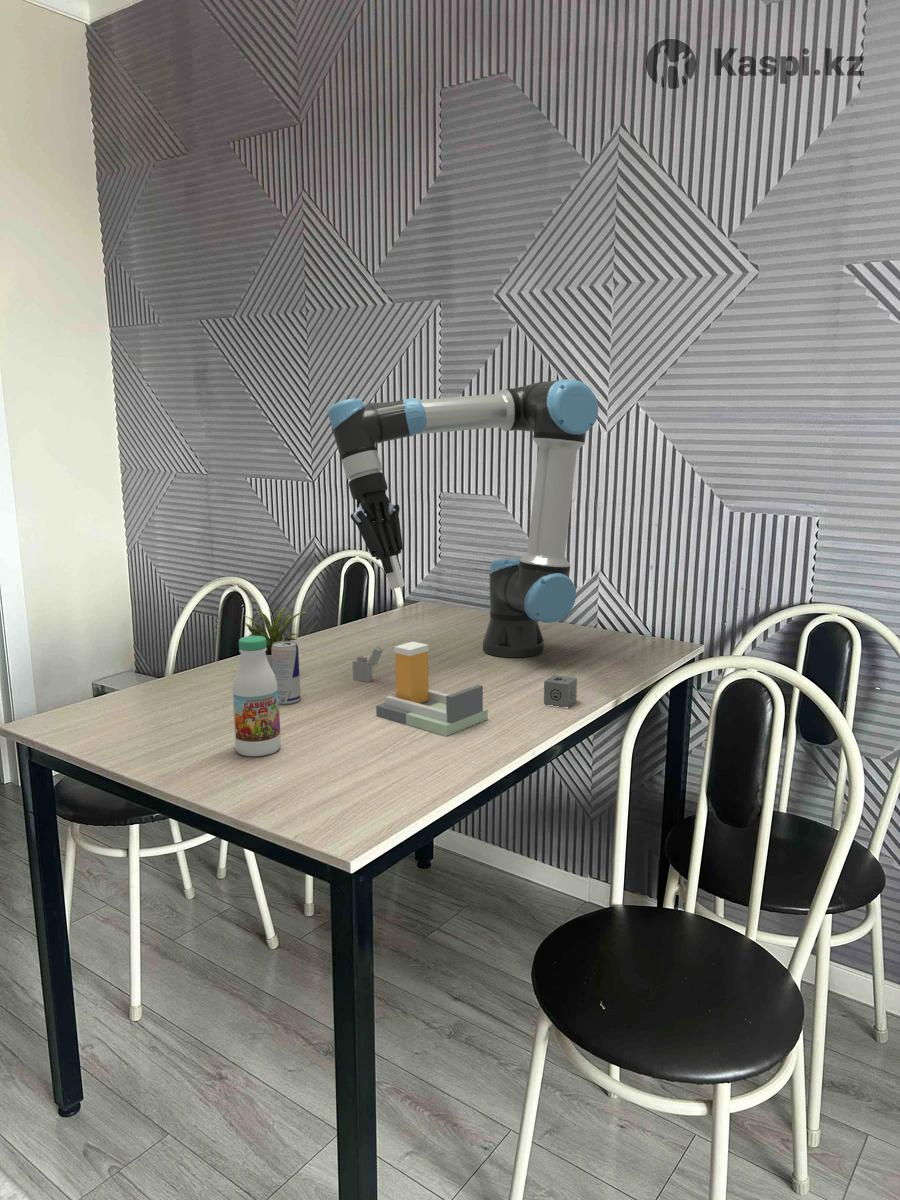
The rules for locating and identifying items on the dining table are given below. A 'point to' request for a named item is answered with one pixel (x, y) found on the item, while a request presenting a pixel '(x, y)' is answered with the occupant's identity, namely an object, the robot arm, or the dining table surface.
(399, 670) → the block
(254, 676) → the milk bottle
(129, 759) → the dining table surface
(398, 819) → the dining table surface
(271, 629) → the house plant
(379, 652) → the lighter
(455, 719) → the grey rail tray
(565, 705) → the dice cube
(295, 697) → the energy drink
